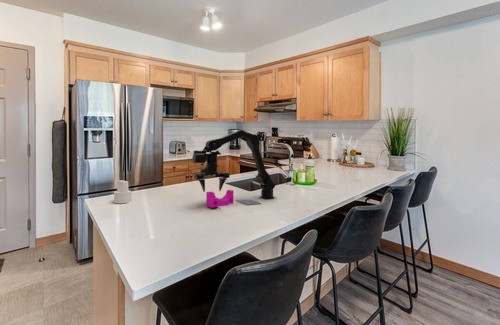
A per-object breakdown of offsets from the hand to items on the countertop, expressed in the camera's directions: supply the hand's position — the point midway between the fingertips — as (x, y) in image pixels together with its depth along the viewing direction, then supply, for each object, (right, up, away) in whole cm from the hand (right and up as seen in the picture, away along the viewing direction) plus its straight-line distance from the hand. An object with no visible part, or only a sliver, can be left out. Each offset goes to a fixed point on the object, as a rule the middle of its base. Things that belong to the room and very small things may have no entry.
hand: (212, 191), depth 146 cm
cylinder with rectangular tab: (-52, -7, +6) cm, 53 cm away
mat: (+19, -7, +8) cm, 22 cm away
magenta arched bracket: (+5, -8, 0) cm, 9 cm away
